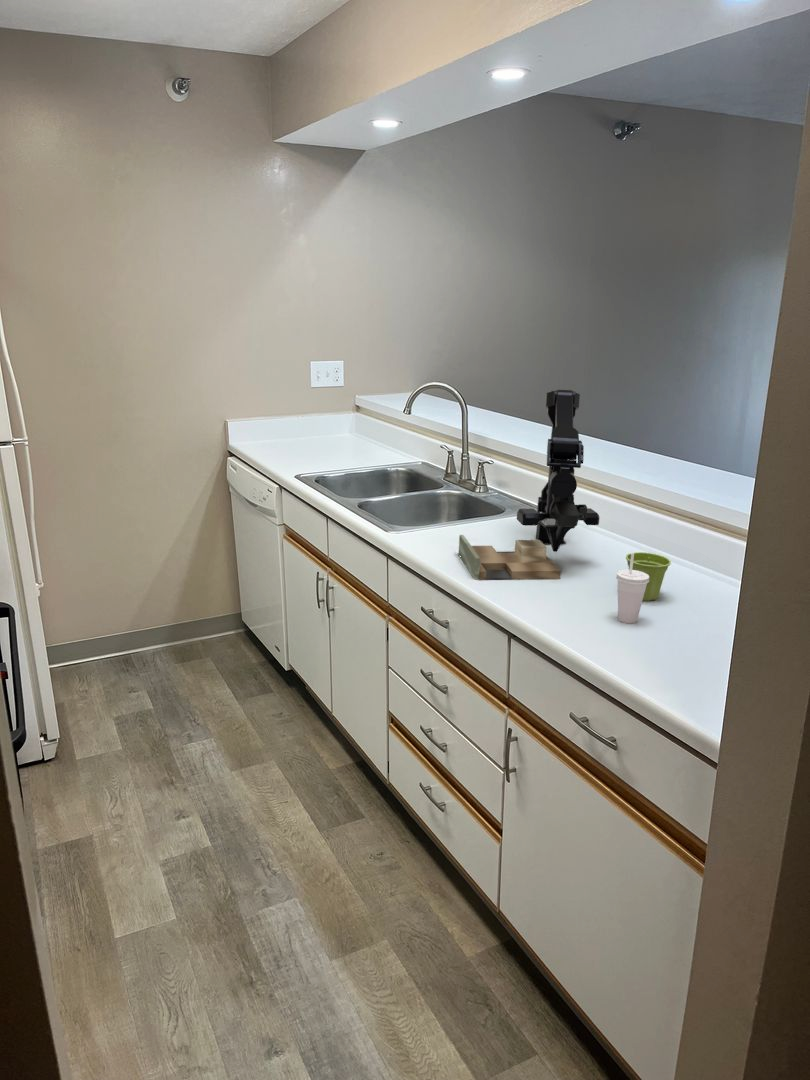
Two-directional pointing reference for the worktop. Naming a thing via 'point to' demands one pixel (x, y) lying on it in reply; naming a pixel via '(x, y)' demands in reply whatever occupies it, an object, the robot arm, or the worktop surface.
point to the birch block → (530, 550)
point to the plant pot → (650, 571)
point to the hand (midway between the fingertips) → (554, 551)
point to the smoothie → (630, 593)
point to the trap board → (503, 564)
